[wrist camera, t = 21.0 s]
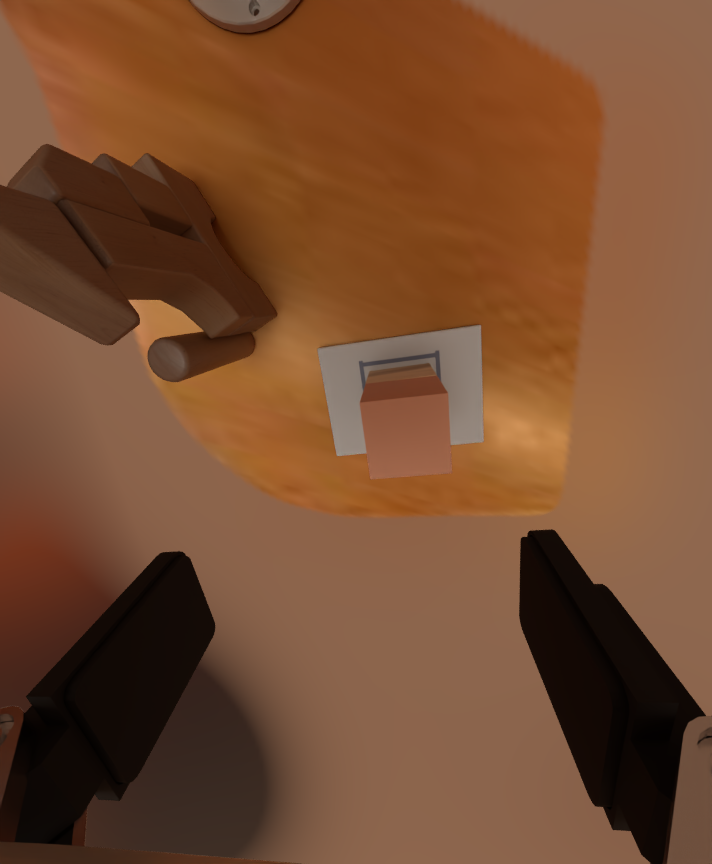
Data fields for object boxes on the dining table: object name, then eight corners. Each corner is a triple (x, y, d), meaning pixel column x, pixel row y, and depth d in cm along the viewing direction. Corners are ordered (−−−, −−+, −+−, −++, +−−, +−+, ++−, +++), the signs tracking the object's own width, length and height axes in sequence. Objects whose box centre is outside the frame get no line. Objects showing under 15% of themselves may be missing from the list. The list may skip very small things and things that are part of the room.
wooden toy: (142, 224, 33) (-457, 33, 10) (192, 179, 31) (-391, -185, 8) (238, 363, 37) (-24, 463, 14) (288, 330, 35) (84, 381, 12)
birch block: (369, 371, 35) (365, 384, 29) (429, 362, 34) (436, 374, 28) (377, 426, 37) (374, 447, 31) (433, 419, 36) (441, 440, 30)
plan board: (319, 347, 35) (317, 348, 34) (478, 324, 33) (481, 325, 32) (338, 452, 39) (336, 456, 38) (481, 438, 37) (483, 442, 36)
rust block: (365, 383, 29) (359, 402, 24) (436, 375, 28) (448, 393, 23) (374, 447, 31) (370, 479, 26) (441, 441, 30) (452, 472, 25)
